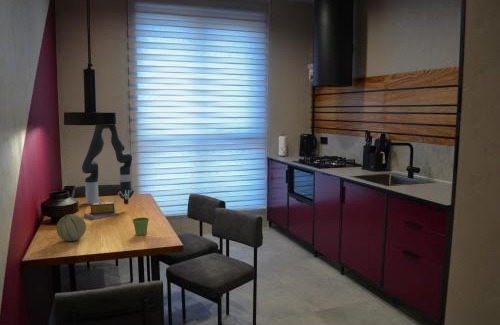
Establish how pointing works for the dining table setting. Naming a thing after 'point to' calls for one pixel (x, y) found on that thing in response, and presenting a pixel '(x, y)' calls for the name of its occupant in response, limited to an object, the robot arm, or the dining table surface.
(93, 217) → the bookend
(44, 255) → the dining table surface
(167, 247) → the dining table surface
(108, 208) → the baking soda box
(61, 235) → the cantaloupe
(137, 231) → the plant pot
